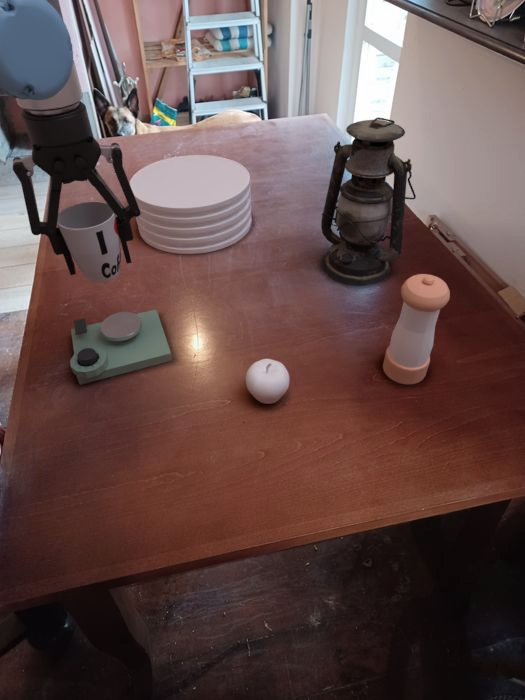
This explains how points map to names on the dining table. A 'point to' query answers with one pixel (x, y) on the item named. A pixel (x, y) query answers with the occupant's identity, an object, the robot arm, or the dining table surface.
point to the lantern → (365, 204)
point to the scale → (121, 350)
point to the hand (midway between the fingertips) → (100, 264)
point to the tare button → (87, 357)
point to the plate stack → (192, 203)
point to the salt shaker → (415, 328)
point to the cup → (92, 239)
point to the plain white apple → (267, 380)
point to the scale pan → (115, 326)
